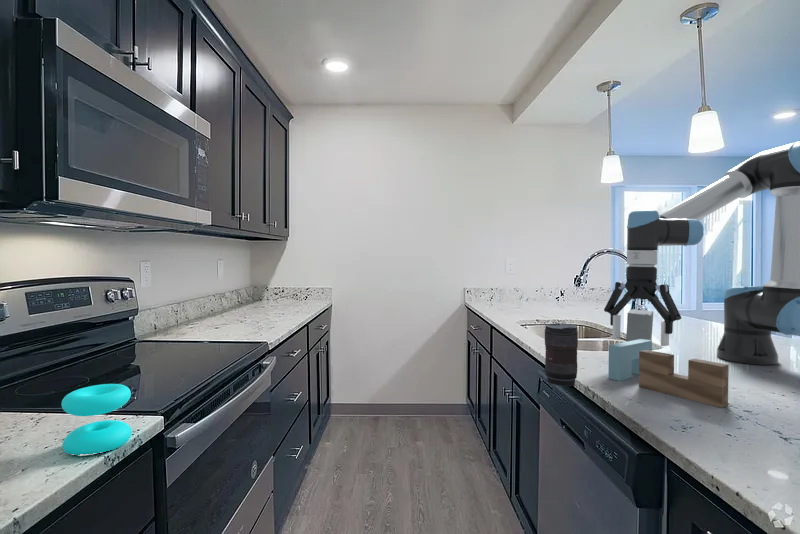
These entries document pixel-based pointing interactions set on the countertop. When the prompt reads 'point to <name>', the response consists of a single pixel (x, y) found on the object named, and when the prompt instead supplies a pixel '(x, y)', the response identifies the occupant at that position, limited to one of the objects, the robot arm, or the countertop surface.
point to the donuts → (101, 432)
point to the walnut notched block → (685, 378)
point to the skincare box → (639, 325)
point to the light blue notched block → (626, 358)
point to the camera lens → (561, 353)
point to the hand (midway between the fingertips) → (639, 341)
